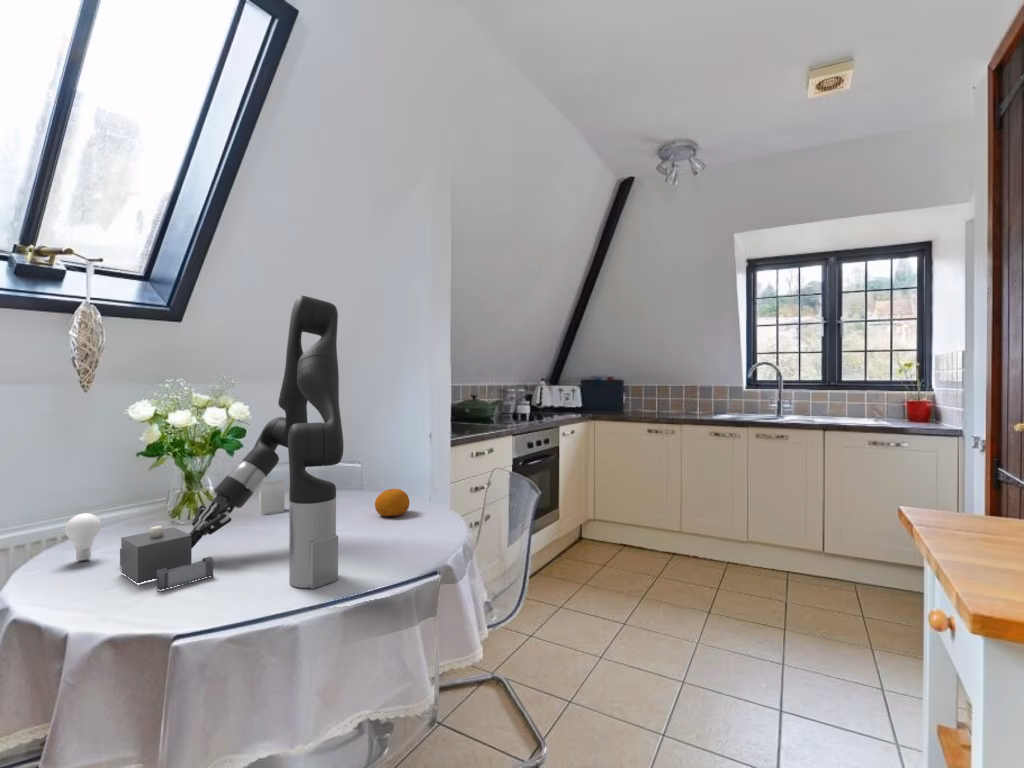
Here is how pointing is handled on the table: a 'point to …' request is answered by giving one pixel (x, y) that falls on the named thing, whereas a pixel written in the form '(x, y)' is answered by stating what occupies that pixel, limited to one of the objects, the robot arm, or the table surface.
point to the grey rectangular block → (271, 497)
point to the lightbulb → (83, 533)
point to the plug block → (154, 552)
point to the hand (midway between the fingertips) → (185, 546)
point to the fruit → (392, 502)
